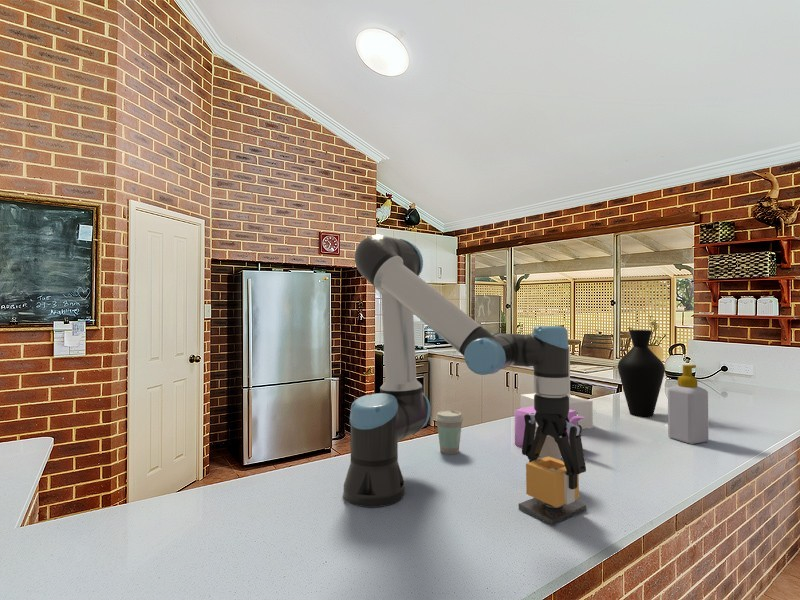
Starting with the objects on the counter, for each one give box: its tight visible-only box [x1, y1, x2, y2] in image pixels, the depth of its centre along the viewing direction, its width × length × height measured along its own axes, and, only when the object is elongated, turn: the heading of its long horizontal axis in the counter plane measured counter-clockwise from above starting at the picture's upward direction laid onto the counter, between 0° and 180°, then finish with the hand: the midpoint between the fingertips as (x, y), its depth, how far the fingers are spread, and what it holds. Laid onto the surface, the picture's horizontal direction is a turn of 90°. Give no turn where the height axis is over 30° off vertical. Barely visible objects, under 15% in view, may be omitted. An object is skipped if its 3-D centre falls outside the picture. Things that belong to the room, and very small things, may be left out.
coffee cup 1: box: [435, 409, 464, 455], centre depth 137 cm, size 9×8×12 cm
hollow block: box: [525, 456, 580, 508], centre depth 98 cm, size 8×8×7 cm
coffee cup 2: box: [534, 422, 562, 461], centre depth 114 cm, size 10×10×15 cm
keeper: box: [518, 467, 587, 527], centre depth 98 cm, size 12×9×9 cm
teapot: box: [514, 406, 585, 448], centre depth 141 cm, size 15×25×14 cm, turn 37°
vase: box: [617, 329, 666, 418], centre depth 180 cm, size 17×17×35 cm
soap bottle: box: [667, 364, 709, 445], centre depth 147 cm, size 9×9×25 cm
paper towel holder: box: [519, 345, 594, 430], centre depth 168 cm, size 19×19×30 cm
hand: (552, 494), depth 98 cm, fingers closed on hollow block, 8 cm apart
